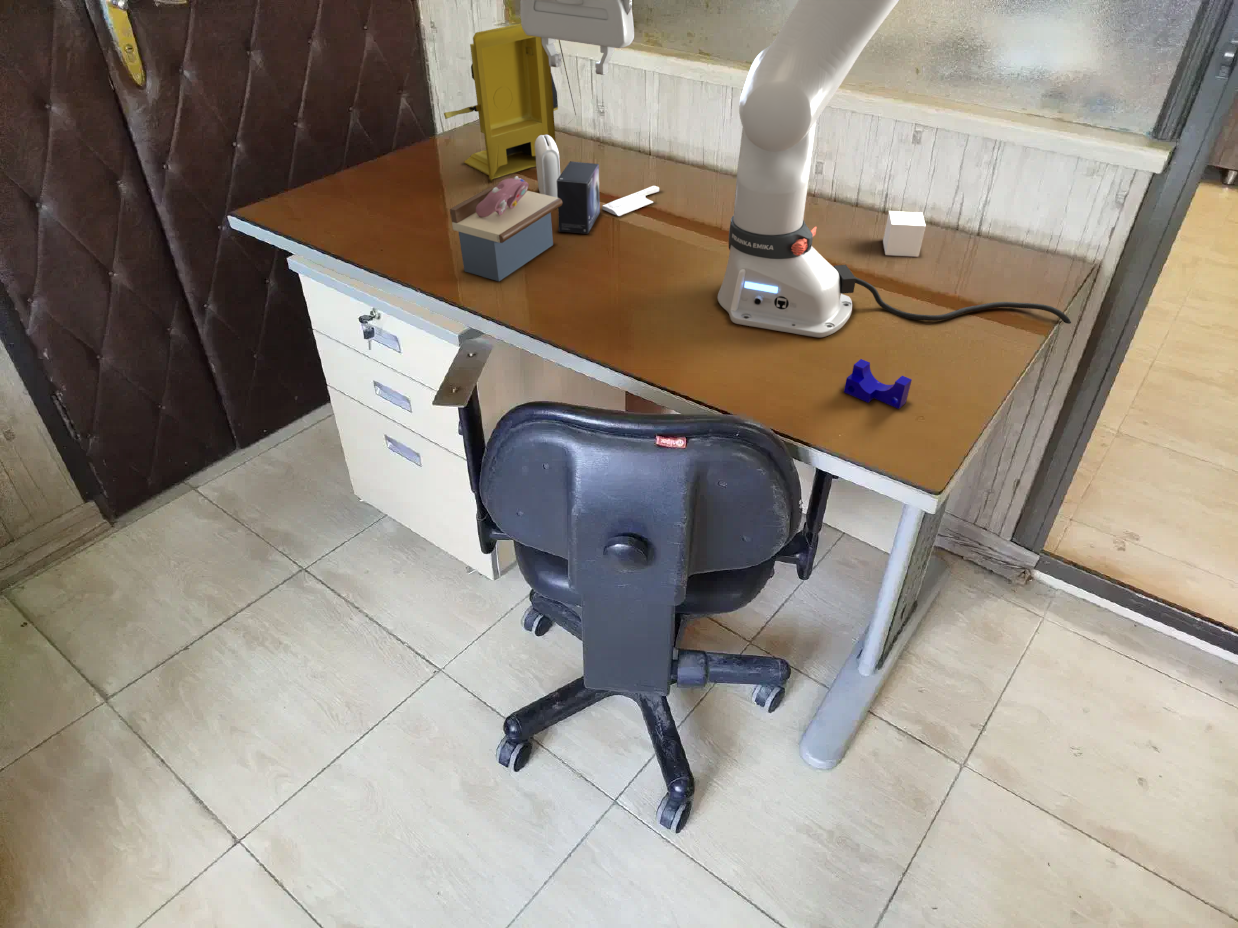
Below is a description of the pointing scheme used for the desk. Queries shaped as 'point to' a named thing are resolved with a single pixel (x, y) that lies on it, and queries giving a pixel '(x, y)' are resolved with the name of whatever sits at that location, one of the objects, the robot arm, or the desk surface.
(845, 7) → the robot arm
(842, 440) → the desk surface
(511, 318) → the desk surface
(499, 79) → the yellow upright casing
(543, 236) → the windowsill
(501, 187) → the video game controller
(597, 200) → the small box
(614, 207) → the white plastic blade
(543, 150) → the photo printer
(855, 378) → the cable holder
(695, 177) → the desk surface
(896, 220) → the white cube
